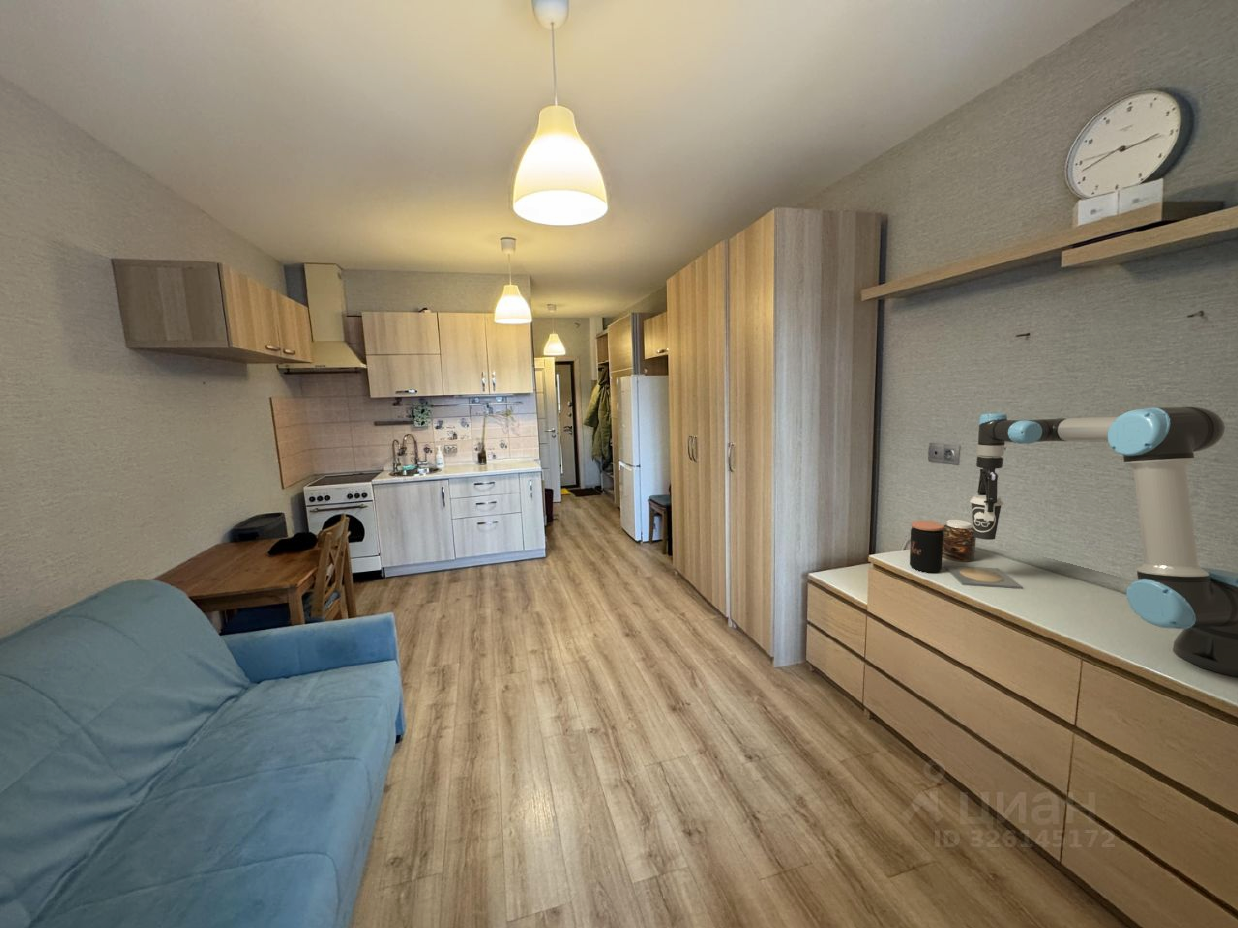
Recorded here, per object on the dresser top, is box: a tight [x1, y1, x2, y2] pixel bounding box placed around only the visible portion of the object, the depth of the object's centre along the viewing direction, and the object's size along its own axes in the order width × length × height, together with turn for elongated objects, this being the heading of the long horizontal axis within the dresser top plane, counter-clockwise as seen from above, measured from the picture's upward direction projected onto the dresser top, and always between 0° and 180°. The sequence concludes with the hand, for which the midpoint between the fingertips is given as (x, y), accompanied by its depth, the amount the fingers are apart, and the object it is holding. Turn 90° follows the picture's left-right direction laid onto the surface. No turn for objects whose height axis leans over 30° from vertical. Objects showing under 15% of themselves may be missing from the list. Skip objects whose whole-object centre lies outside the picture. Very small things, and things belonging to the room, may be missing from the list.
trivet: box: [943, 564, 1024, 590], centre depth 174 cm, size 18×18×1 cm
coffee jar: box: [909, 520, 945, 574], centre depth 183 cm, size 11×11×18 cm
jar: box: [942, 519, 977, 563], centre depth 194 cm, size 12×12×15 cm
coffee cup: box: [969, 494, 1004, 541], centre depth 171 cm, size 10×10×15 cm
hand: (985, 517), depth 171 cm, fingers closed on coffee cup, 9 cm apart
